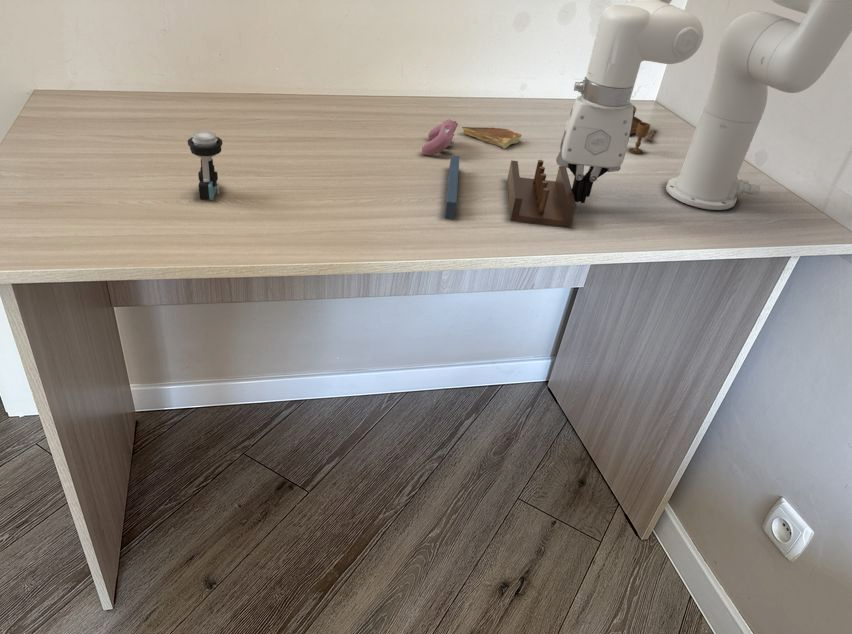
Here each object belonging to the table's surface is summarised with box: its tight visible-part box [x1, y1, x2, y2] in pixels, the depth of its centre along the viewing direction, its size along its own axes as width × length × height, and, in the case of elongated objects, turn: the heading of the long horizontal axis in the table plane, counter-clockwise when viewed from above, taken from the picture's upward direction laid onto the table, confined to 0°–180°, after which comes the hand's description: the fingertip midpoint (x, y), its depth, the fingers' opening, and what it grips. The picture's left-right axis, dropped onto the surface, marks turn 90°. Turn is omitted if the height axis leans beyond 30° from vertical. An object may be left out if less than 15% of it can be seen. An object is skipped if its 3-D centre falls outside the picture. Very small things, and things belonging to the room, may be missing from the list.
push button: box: [187, 130, 223, 201], centre depth 112 cm, size 7×5×10 cm
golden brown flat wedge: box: [461, 126, 522, 150], centre depth 145 cm, size 11×8×2 cm
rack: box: [506, 159, 577, 229], centre depth 120 cm, size 10×16×6 cm, turn 174°
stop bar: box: [444, 154, 460, 220], centre depth 121 cm, size 2×20×3 cm, turn 174°
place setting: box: [628, 104, 656, 155], centre depth 152 cm, size 18×20×6 cm
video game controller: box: [421, 118, 459, 156], centre depth 136 cm, size 10×5×7 cm, turn 168°
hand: (578, 199), depth 120 cm, fingers closed
